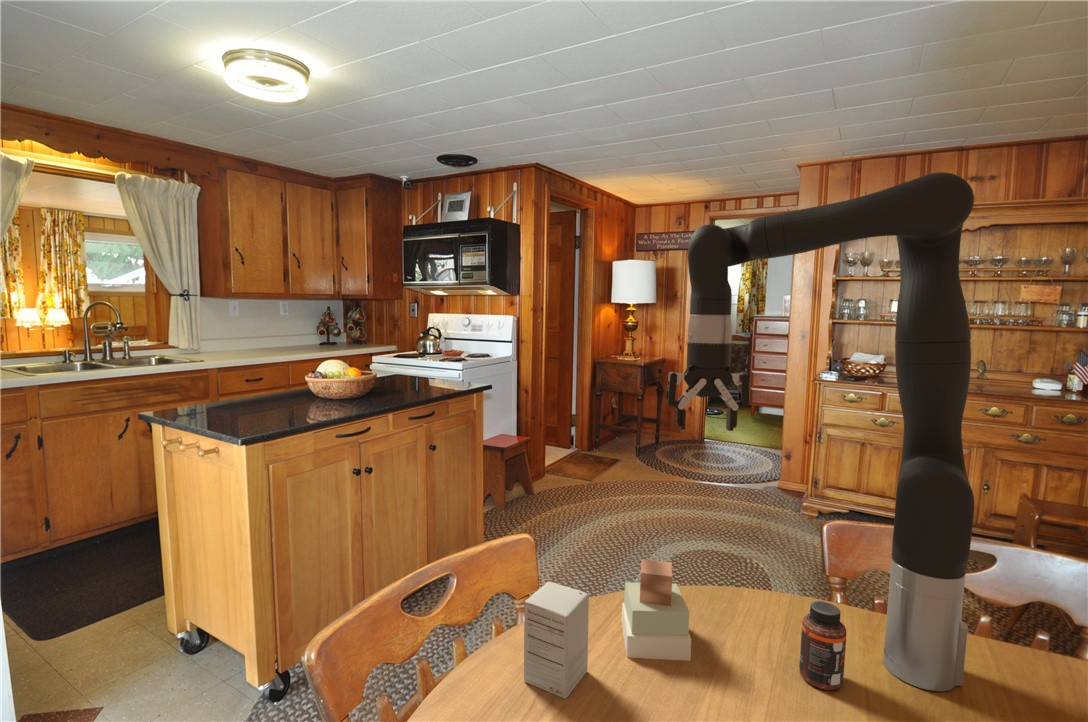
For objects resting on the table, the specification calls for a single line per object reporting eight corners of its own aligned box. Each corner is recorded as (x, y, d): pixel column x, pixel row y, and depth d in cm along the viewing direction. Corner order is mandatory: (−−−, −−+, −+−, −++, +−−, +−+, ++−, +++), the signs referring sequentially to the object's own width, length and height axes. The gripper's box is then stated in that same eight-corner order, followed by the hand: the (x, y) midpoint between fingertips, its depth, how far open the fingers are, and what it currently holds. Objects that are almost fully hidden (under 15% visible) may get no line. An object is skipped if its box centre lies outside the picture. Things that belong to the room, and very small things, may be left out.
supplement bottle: (848, 695, 78) (854, 621, 77) (804, 689, 80) (809, 616, 79) (835, 669, 84) (840, 599, 83) (794, 663, 85) (798, 595, 84)
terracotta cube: (670, 590, 92) (671, 562, 92) (670, 606, 88) (672, 576, 87) (640, 587, 93) (641, 559, 93) (639, 602, 89) (640, 572, 88)
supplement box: (547, 655, 86) (548, 579, 85) (588, 671, 83) (590, 592, 82) (521, 682, 80) (522, 600, 79) (565, 701, 76) (567, 615, 75)
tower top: (675, 605, 95) (676, 583, 95) (688, 635, 86) (689, 612, 86) (624, 604, 95) (625, 582, 95) (631, 634, 86) (632, 610, 86)
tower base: (678, 626, 96) (679, 605, 95) (690, 663, 86) (691, 639, 85) (621, 623, 96) (622, 602, 96) (626, 659, 86) (627, 636, 86)
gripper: (743, 340, 100) (739, 426, 102) (665, 338, 101) (662, 424, 102) (756, 342, 93) (752, 435, 94) (672, 340, 93) (669, 433, 95)
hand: (705, 429), depth 98 cm, fingers open, 8 cm apart
